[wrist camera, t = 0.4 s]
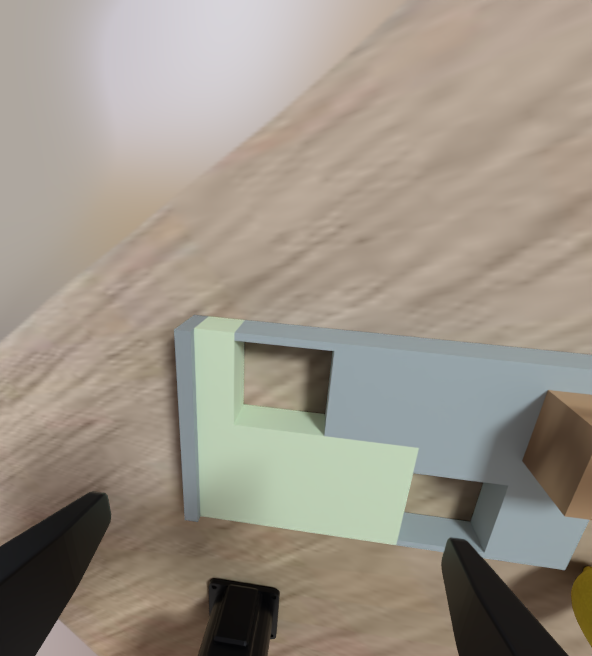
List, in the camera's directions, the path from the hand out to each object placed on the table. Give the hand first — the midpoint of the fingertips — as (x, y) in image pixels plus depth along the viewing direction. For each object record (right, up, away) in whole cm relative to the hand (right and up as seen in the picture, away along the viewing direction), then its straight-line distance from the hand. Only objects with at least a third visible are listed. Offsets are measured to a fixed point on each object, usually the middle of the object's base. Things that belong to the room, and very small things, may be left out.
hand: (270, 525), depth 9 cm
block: (+17, -1, +11) cm, 20 cm away
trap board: (+7, -2, +15) cm, 17 cm away
